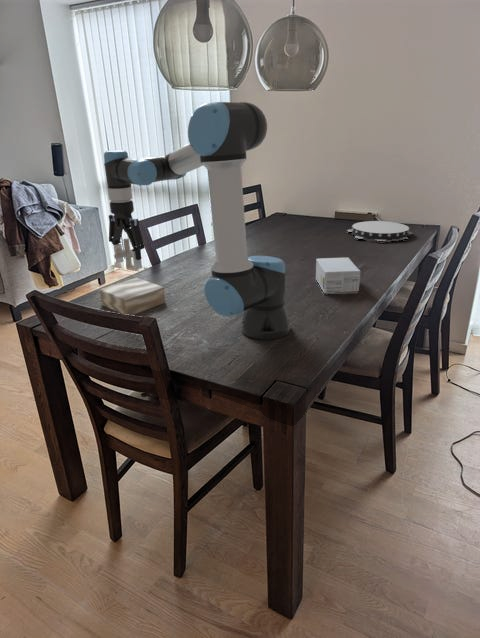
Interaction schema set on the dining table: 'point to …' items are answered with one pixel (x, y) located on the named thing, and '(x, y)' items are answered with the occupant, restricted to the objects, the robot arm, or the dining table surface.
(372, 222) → the tambourine
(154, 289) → the stand
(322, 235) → the dining table surface
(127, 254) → the pipe connector
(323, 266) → the supplement box
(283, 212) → the dining table surface
